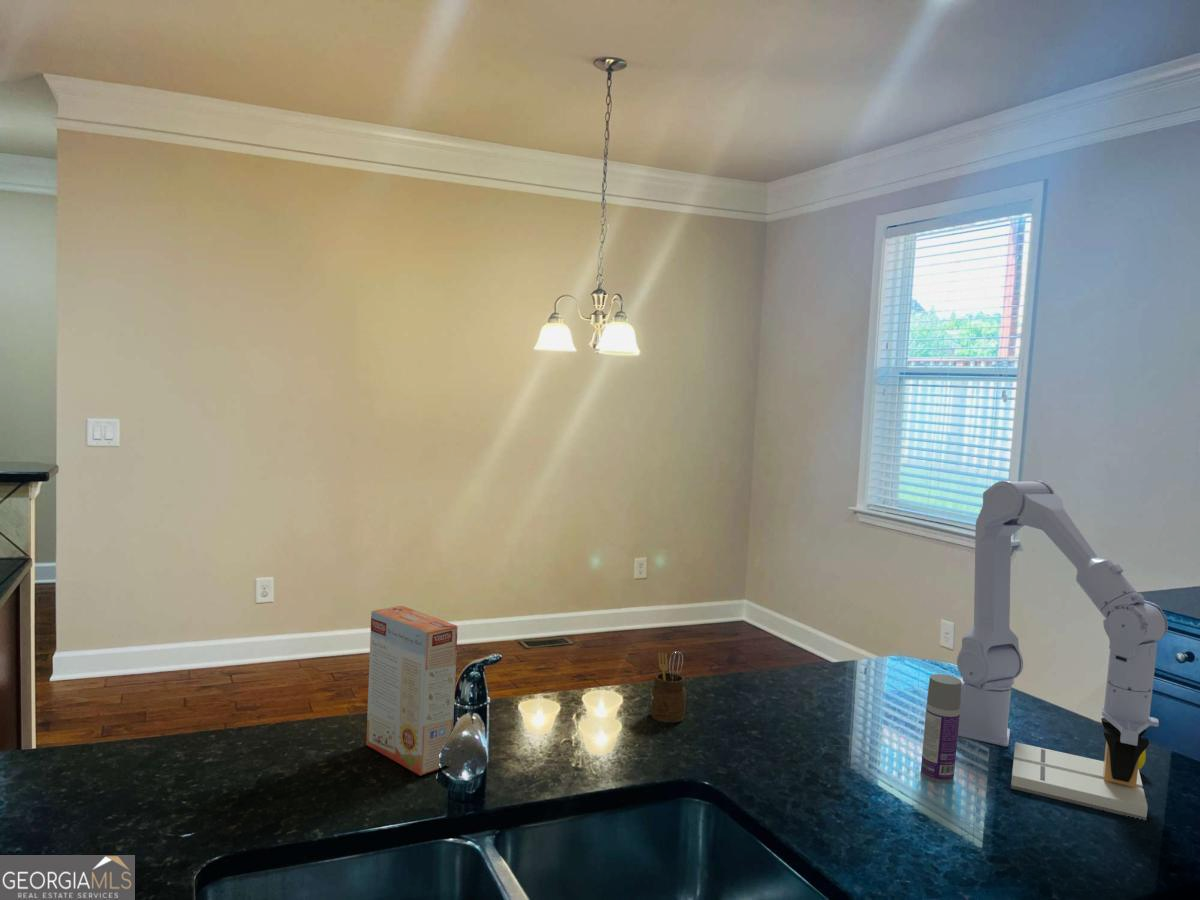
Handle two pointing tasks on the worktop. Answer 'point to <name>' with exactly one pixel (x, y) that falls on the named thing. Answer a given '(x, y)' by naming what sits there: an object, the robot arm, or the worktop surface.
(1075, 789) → the fader console
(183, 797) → the worktop surface
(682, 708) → the utensil holder
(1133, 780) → the fader tab
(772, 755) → the worktop surface
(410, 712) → the cracker box
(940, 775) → the container
